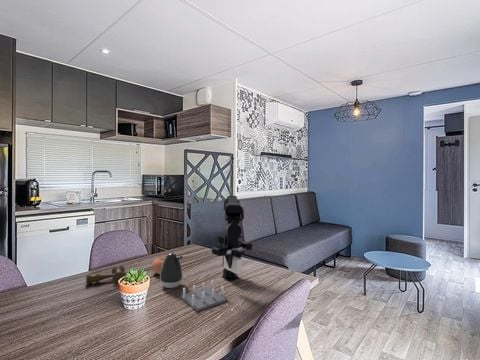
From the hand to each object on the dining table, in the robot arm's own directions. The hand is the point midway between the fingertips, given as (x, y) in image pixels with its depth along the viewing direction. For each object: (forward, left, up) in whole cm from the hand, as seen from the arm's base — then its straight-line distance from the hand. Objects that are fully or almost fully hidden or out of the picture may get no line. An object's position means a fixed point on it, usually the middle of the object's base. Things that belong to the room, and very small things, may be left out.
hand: (232, 267), depth 118 cm
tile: (0, 0, -1) cm, 1 cm away
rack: (+14, -1, -11) cm, 18 cm away
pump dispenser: (+19, -21, -11) cm, 30 cm away
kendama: (+40, -43, -11) cm, 60 cm away
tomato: (+16, -39, -11) cm, 44 cm away
